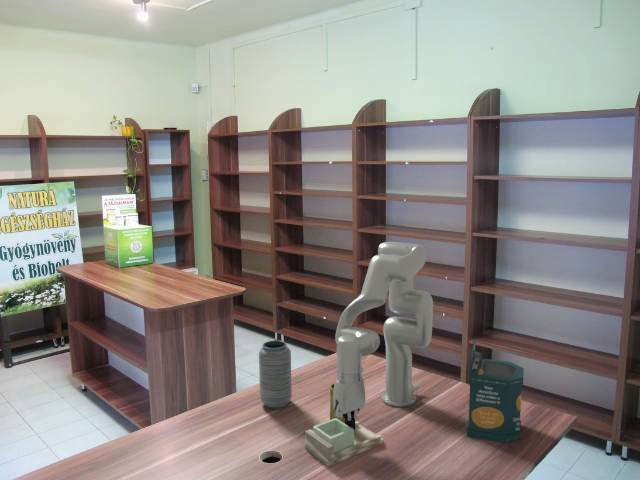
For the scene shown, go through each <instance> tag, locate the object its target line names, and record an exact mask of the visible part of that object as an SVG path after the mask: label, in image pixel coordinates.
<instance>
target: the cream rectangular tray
mask: <svg viewBox="0 0 640 480" xmlns="http://www.w3.org/2000/svg"><path fill="white" fill-rule="evenodd" d="M304 441H305V443H304V445H305V446H304V449H305V450H306V451H307V452H308V453H310V454H311V455H312V456H313V457H315V458H316V459H318V460H319V461H320V462H322V463H323V464H324V465H326V466H327V467H331V466H333V465H335V464H337V463H341V462H342V461H346V460H348V459H349V458H352V457H353V456H356V455H358V454H360V453H363V452H365V451H368V450H370V449H372V448H374V447H376V446H380V445H381V444H382V445H383V443H385V441H384V438H383V437H382V435H380V434H378V435H377V433H375V432H373V431H372V430H370V429H368V428H366V427H364V426H363V425H361V424H360V422H359V421H358V420H357V421H356V420H355V431H354V446H351V447H349V448H347V449H344V450H342V451H339V452H337V453H335V454H334V445H332V444H331V443H329V442H328V441H326V440H325V439H324V438H322V437H321V436H319V435H318V434H316V433H315V432H314V431H313V429H310V428H309V429H307V430H305V431H304Z"/></svg>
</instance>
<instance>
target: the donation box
mask: <svg viewBox="0 0 640 480" xmlns="http://www.w3.org/2000/svg"><path fill="white" fill-rule="evenodd" d="M482 356H483V354H482V353H480V352H478V351H476V339H475V338H474V339H473V342H472V346H471V349H470V352H469V364H468V365H469V366H468V367H469V369H468V370H469V371H468V384H469V397H468V398H469V400H468V401H469V403H468V404H469V405H468V406H469V407H468V424H467V428H466V429H467V431H466V437H467V438H473V439H481V440H485V441H492V442H497V443H502V444H503V443H504V444H508V443H511V442H514V441H517V440H520V439H521V431H522V429H521V428H522V421H521V412H522V411H521V410H522V408H521V407H522V388H523V387H522V386H523V385H524V374H525V373H524V369H525V368H524V367H522V366H520V365H518V364H516V363H513V362H511V361H507V360H499V359H497V360H496V359H490V358H489V359H487V358H482Z"/></svg>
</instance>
